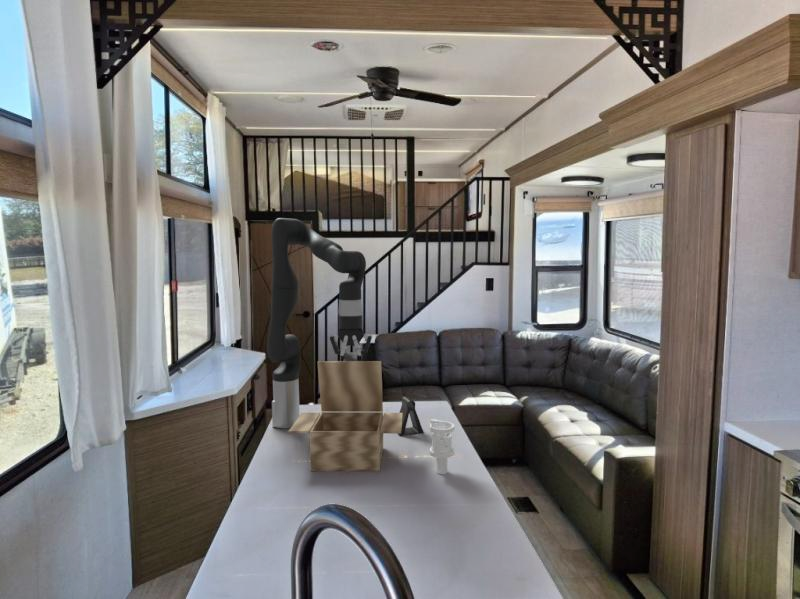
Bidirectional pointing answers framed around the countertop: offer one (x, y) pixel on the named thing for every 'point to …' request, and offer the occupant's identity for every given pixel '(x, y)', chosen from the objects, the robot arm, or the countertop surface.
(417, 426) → the phone stand
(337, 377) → the lid flap
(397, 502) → the countertop surface
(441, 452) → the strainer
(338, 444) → the carton
